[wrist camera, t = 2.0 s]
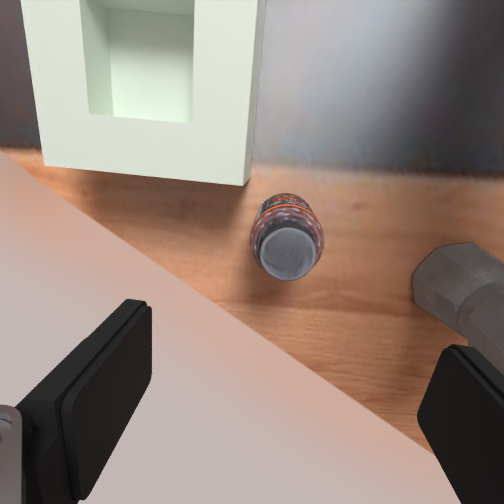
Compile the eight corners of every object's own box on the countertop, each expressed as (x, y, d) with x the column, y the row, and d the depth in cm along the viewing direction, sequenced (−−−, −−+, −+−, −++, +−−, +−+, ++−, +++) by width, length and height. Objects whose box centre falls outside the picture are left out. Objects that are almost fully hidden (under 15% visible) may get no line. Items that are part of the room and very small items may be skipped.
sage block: (267, -18, 24) (264, -88, 17) (250, 177, 29) (242, 185, 22) (82, -32, 25) (5, -105, 18) (98, 162, 30) (44, 165, 23)
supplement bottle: (316, 194, 30) (339, 217, 19) (308, 248, 32) (326, 298, 21) (258, 189, 30) (249, 210, 19) (254, 244, 32) (244, 290, 21)
